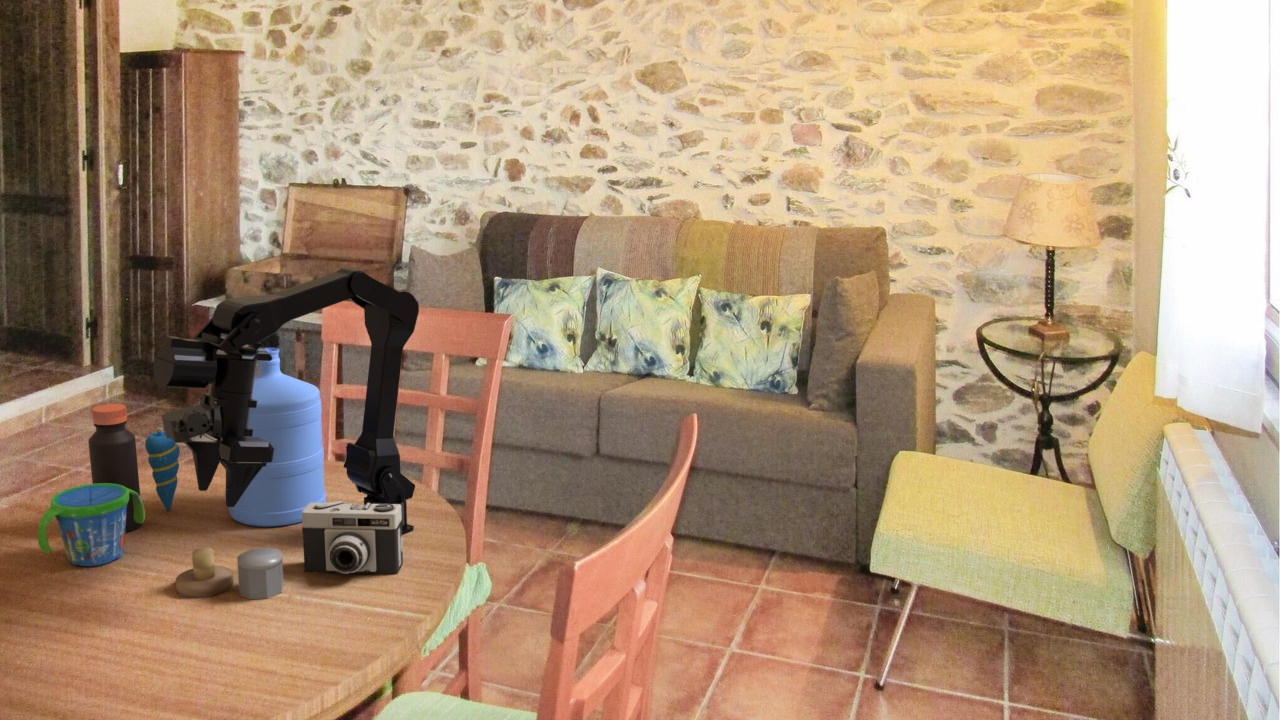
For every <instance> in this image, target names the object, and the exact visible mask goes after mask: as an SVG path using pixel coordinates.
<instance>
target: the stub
mask: <svg viewBox="0 0 1280 720" xmlns="http://www.w3.org/2000/svg"><path fill="white" fill-rule="evenodd" d="M191 555H192V556H191V557H192V568H190V569H187V570H185V571H183V572H181V573H179V574H178V575H177V576H176V578H175V589H176V593H177V594H178V595H180V596H182V597H184V598H190V599H191V598H193V599H197V598H198V599H199V598H208V597H213V596H217V595H220V594H223V593H225V592H227V591H228V590H230V589H231V588H232V587H233V586H234V572H233V569H231V568H229V567H227V566H221V565H215V558H214V556H215V555H214V549H213V548H211V547H200V548H196V549H194V550H193V551H192V552H191Z"/></svg>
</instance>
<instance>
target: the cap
mask: <svg viewBox="0 0 1280 720" xmlns="http://www.w3.org/2000/svg"><path fill="white" fill-rule="evenodd" d="M236 561H237V576H238V577H237V578H238V590H239V596H241V597H243V598H246V599H248V600H264V599H265V600H266V599H270V598H272V597H275V596H277V595H280V594H282V592H283V589H284V586H285V585H284V569H283V568H284V567H283V553H282V551H281V550H279V549H276V548H272V547H259V548H253V549H249V550H246V551H244V552H242V553H240V554H238V556H237V557H236ZM279 593H280V594H279Z"/></svg>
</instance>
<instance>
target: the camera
mask: <svg viewBox="0 0 1280 720" xmlns="http://www.w3.org/2000/svg"><path fill="white" fill-rule="evenodd" d="M301 524H302V527H301V528H302V530H301V531H302V543H303V544H302V546H303V563H304V565H303V566H304V573H306V572H317V573H316V574H349V573H357V575H394V576H395V575H398V574H399V572H400V570H401V568H402V566H403V565H404V558H403V557H404V556H403V555H404V553H403V549H404V548H403V547H404V545H403V534H402V513H401V505H400V504H370V503H367V504H366V505H364V504H358V502H354V503H351V502H346V501H330V502H326V503H309V504H308V505H307V506H306V507H305V508H304V510H303V511H302V522H301ZM358 573H359V574H358Z"/></svg>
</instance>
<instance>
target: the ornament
mask: <svg viewBox="0 0 1280 720" xmlns="http://www.w3.org/2000/svg"><path fill="white" fill-rule="evenodd" d="M159 425H160V426H161V427H159ZM178 444H179V443H176V442H174V441H173V440H172V439H171V438H167V437H166V434H165V431H164V427H163V426H162V425H161V424H158V426H157V428H156V431H155V432H152V433H150V434H149V435H148V436H147V437H146V439H145V443H144V447H145V450H146V453H147V454H148V458H147V460H148V461H147V462H148V464H149V466H150V467H151V469H152V474H151V475H152V478H153V480H154V482H155V484H156V485H155V491H156V494H157V496H158V498H159V499H160V502H161V503H162V505H163V506H164V509H165V510H166V511H170V510H171V509H172V506H173V503H174V502H173V501H174V497H175V494H176V489H177V485H178V476H177V475H178V472H179V469H180V462H179V457H180V452H181V451H180V446H179V445H178Z"/></svg>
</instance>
